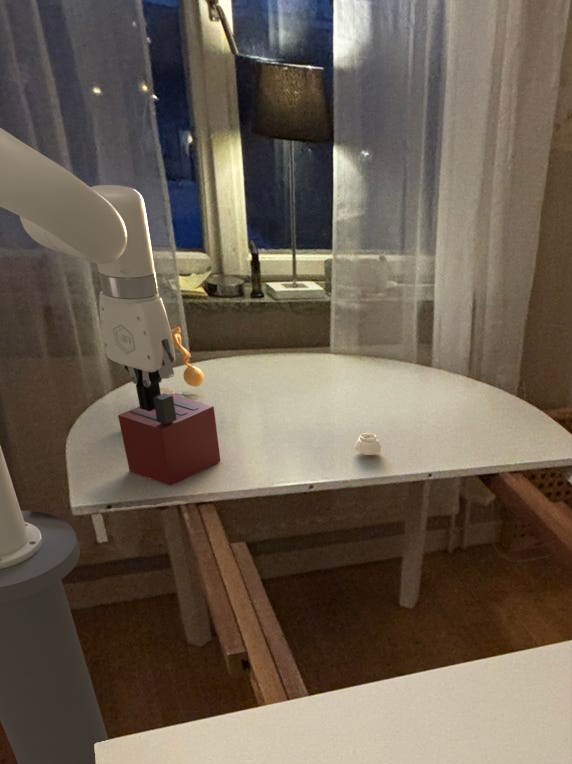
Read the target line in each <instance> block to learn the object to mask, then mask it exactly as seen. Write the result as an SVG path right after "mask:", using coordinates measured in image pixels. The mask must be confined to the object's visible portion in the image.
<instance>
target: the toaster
mask: <svg viewBox="0 0 572 764" xmlns="http://www.w3.org/2000/svg"><path fill="white" fill-rule="evenodd" d="M169 395H172V396H173V400H174V407H175V413H176V419H177V420H175V421H173V422H171V423H168V424H163V423H160V422H157V417H156V411H155V409H154V410H152V411H146V410H143V409H141V408H140V405H139V406H137V407H134V408H131V409H129V410H127V411H125V412H122V413H120V414H118V416H117V417H118V421H119V427H120V432H121V436H122V441H123V447H124V452H125V455H126V460H127V466H128V471H129V473H131V474H135V475H138V476H141V477H144V478H146V477H147V479H149V478H150V479H149V480H153V481H155V482H159V483H162V484H163V485H164V484H165V485H167V486H170V487H173V486H175V485H176V484H178V483H181V482H182V481H185V480H186V479H189V478H190V477H193V476H195V475H197V474H199V473H200V472H202V471H204V470H207V469H208V468H210V467H211V466H214V465H216V464H217V463H220V462H221V453H220V445H219V438H218V431H217V422H216V415H215V407H214V406H213V405H211V404H208V403H204V402H201V401H198V400H195V399H192V398H188V397H185V396H183V395H182V396H183V397H182V396H179V395H176V394H169Z"/></svg>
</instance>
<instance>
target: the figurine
mask: <svg viewBox="0 0 572 764" xmlns="http://www.w3.org/2000/svg"><path fill="white" fill-rule="evenodd" d="M181 333H182V330H181V327H180V326H175V327H174V328H172V329H171V334H172V339H173V344H174V348H175V349H177V350H178V351H179V352H180V354H181V355H183V356H182V359H183V363H184V365H185V366H186V368H185V369H184V371H183V374H182V377H183V380H184V382H185V383H186V384H187V385H189V386H190V387H194V388H195V387H199V386H201V385H202V384H203V383H204V380H205V379H204V378H205V375H204V373H203V371H202V370H201V369H200V367H197V366H194V365H193V364H190V363H189V360H190V359H191V357H192V355H191V353H190V352H189V351H188V349H186V348H185V347H184V346H183V345H182V336H181Z"/></svg>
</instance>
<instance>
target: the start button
mask: <svg viewBox="0 0 572 764" xmlns="http://www.w3.org/2000/svg"><path fill="white" fill-rule="evenodd" d="M160 392H161V394H163V393H166V394H175V393H176V392H175V390H174V389H173V388H169V387H160ZM174 392H175V393H174Z"/></svg>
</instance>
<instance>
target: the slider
mask: <svg viewBox="0 0 572 764" xmlns="http://www.w3.org/2000/svg"><path fill="white" fill-rule="evenodd" d="M153 400H154V406H155V411H156V417H157V422H160V423H163V424H168V423H171V422H173V421H175V420H177V419H176V413H175V407H174V400H173V396H172V395H169V394H166V393H163V394H161V395H158V396H156V397H153Z"/></svg>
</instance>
